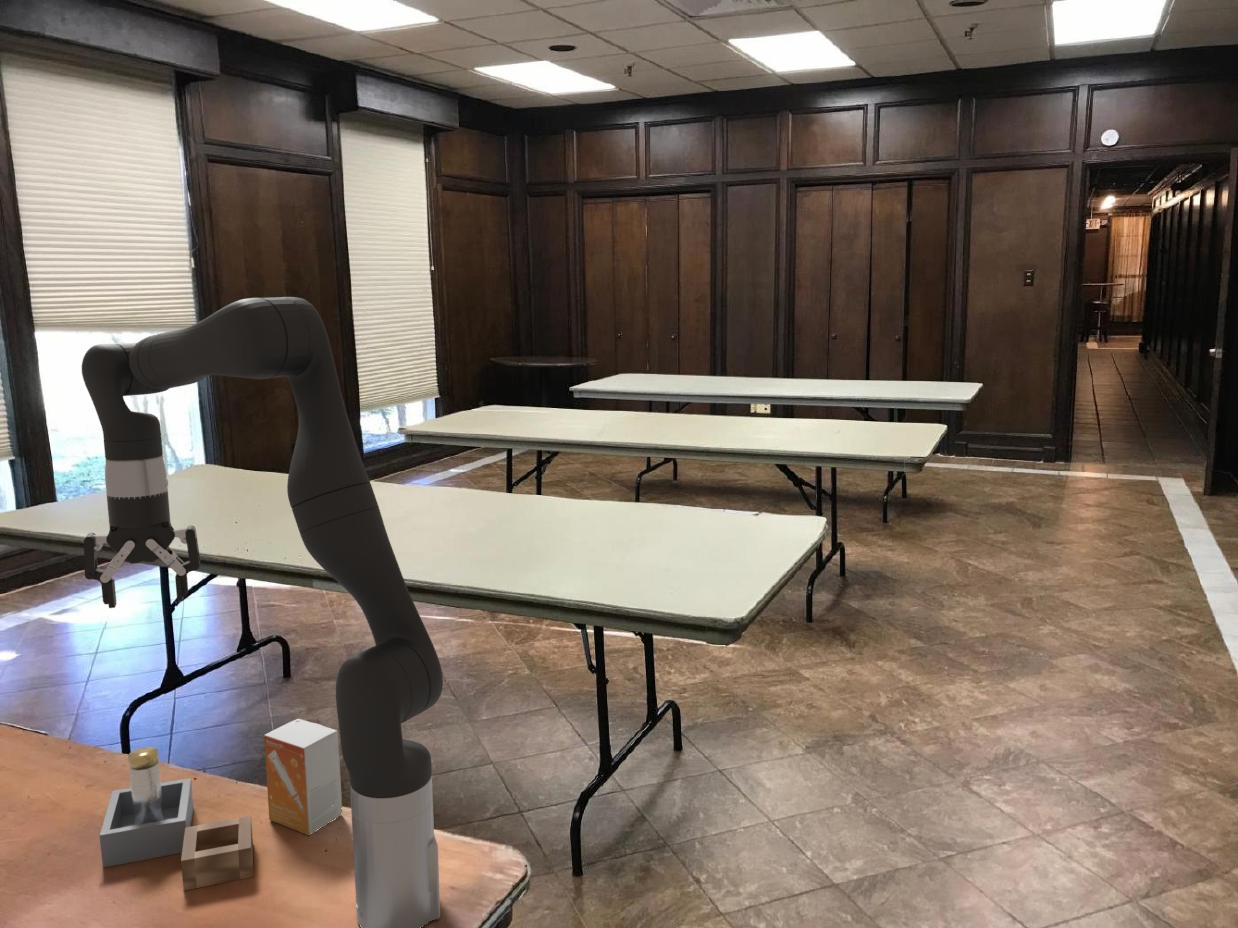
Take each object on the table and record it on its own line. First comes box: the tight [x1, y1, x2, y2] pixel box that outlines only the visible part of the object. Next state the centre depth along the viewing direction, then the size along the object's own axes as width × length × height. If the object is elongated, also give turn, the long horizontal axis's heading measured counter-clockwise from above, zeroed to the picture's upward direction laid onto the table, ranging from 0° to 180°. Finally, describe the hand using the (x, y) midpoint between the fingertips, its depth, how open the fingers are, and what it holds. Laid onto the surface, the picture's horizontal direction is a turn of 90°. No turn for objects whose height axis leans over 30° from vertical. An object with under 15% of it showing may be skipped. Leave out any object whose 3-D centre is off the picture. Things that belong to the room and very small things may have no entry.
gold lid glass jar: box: [127, 746, 164, 825], centre depth 127 cm, size 4×4×11 cm
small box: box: [263, 718, 343, 836], centre depth 131 cm, size 8×6×13 cm
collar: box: [180, 815, 254, 891], centre depth 121 cm, size 8×8×4 cm
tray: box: [99, 777, 194, 869], centre depth 128 cm, size 10×12×4 cm
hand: (147, 603), depth 132 cm, fingers open, 8 cm apart
